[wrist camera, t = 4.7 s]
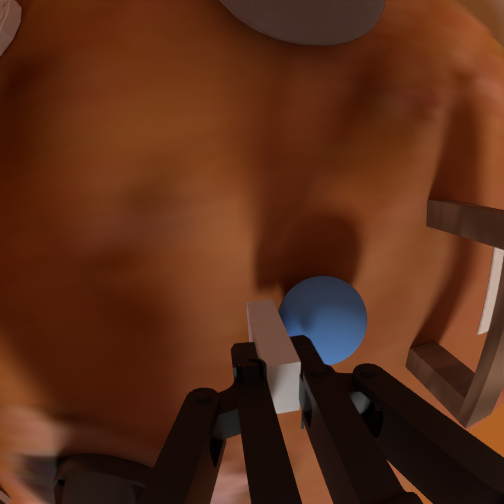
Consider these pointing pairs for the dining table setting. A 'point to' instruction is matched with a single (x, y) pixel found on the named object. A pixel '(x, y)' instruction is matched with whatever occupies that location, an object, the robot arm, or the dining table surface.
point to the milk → (4, 498)
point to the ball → (326, 316)
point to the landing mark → (491, 290)
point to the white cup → (8, 22)
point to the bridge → (498, 337)
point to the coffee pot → (308, 19)
